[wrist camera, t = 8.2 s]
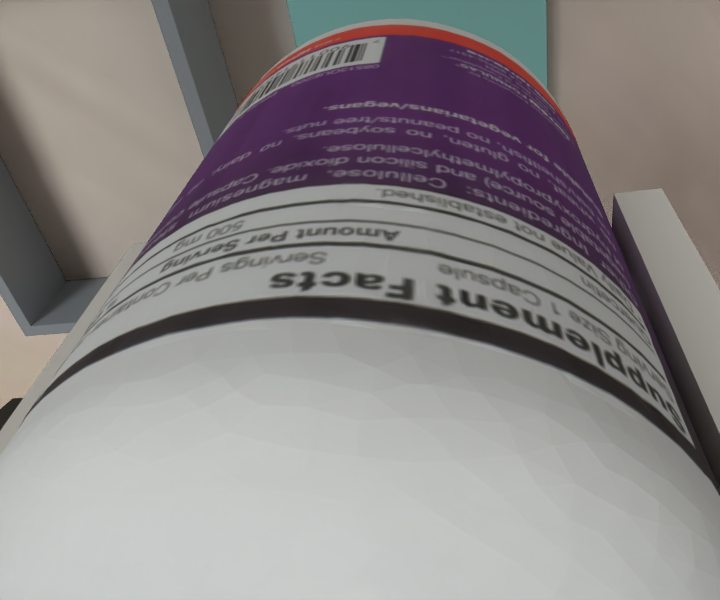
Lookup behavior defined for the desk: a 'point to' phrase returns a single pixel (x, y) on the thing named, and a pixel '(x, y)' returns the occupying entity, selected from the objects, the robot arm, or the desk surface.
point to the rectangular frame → (16, 225)
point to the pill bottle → (370, 364)
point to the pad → (438, 21)
